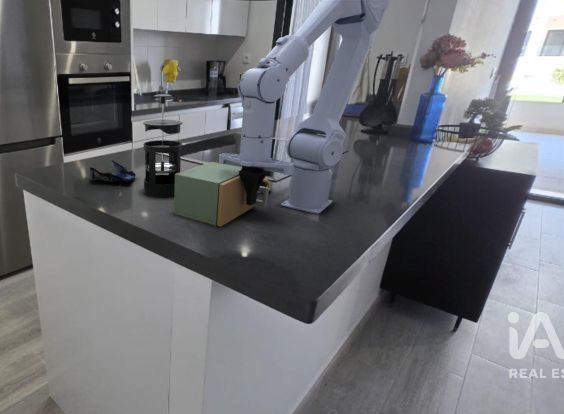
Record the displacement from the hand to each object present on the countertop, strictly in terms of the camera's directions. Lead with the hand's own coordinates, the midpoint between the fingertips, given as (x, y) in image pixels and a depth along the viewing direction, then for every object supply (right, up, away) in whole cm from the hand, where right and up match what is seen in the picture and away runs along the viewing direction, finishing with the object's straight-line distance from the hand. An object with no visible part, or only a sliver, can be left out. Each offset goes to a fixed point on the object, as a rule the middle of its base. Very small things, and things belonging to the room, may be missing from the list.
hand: (250, 203), depth 76 cm
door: (-1, -3, 0) cm, 3 cm away
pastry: (+6, +4, +18) cm, 20 cm away
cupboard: (-7, -1, +5) cm, 8 cm away
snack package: (-29, +6, +26) cm, 40 cm away
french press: (-17, +3, +17) cm, 24 cm away
